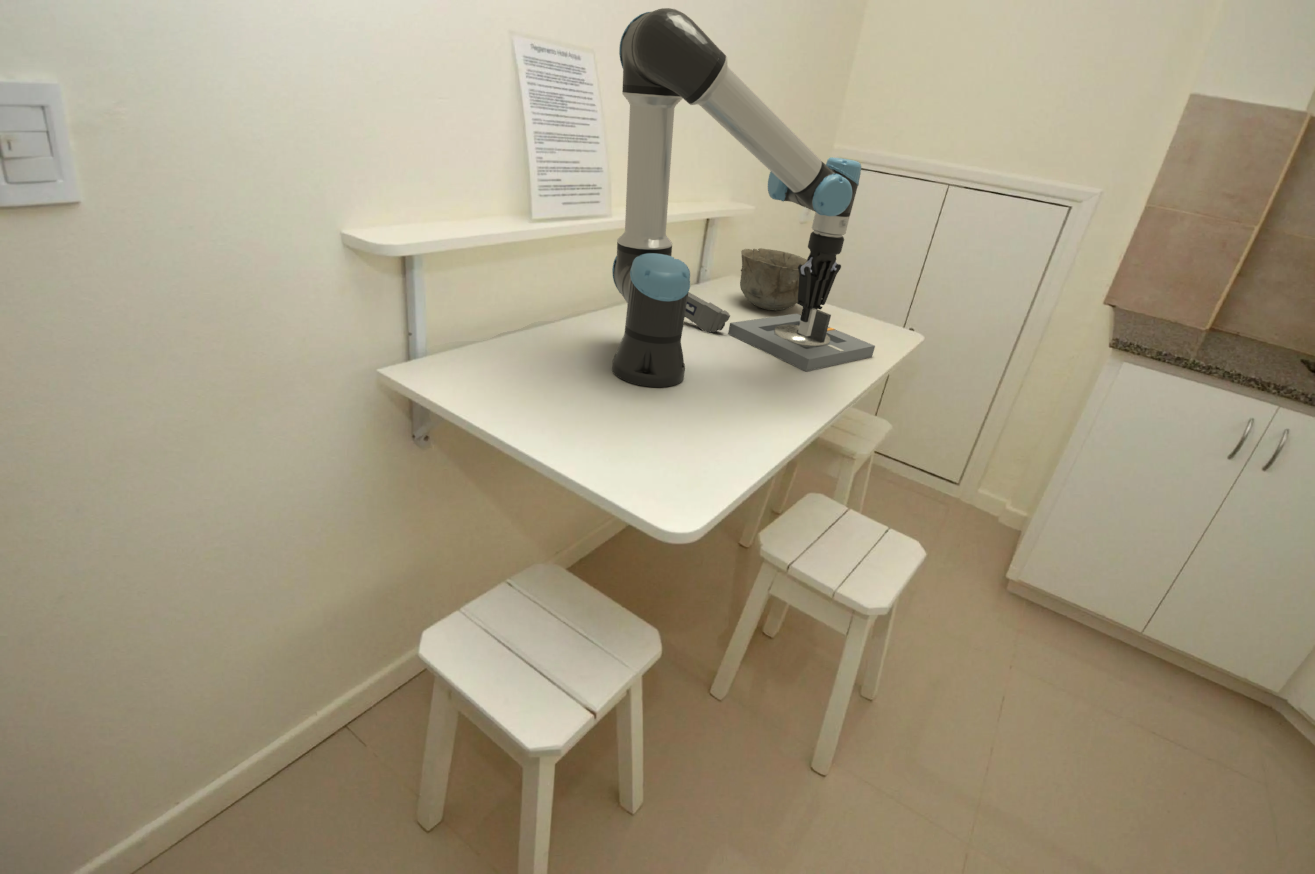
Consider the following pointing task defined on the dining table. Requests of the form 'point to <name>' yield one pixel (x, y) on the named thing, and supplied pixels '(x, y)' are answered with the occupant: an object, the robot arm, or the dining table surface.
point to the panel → (806, 359)
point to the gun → (705, 314)
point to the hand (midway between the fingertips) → (804, 334)
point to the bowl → (770, 278)
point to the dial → (814, 340)
